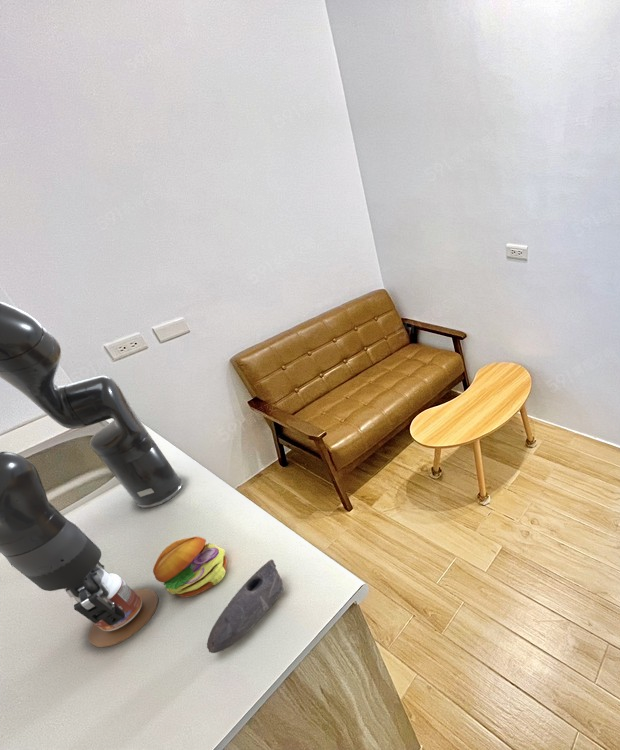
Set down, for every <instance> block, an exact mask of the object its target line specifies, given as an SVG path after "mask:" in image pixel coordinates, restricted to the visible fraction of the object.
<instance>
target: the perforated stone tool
mask: <svg viewBox="0 0 620 750" xmlns="http://www.w3.org/2000/svg"><path fill="white" fill-rule="evenodd" d="M283 584H284V583H283V579H282V577H281V576H280V574H279V571H278V569H277V565H276V563H275V561H274V559H270V560H268V561H267V562H266V563H264V564H263V565H262V566H261V567H260V568H259V569H258V570H257V571H256V572H255V573H253V575H251V576H250V578H248V580H247V581H246V582H245V583H244V584H243V585H242V586H241V588H240V589H238V590H237V592H236V593H235V595H234V596H233V597H232V598H231V599H230V601H229V603H227V606H226V607H224V609H223V611H222V612H221V613H220V615H219V616H218V618H217V620H215V623H214V625H213V626H212V628H211V630H210V632H209V635H208V638H207V643H206V649H207V650H208V652H209V653H211V654H217V653H221V652H223V651H224V650H227V649H228V648H230V647H231V646H233V645H234V644H235V643H237V642H238V641H239V640H240V639H241V638H243V637H244V636H245V635H246V634H247V633H248V632H249V631H250V630H251V629H252V628H253V627H254V625H256V624H257V622H258V621H260V619H261V618H262V617H263V616H264V615H265V614H266V613H267V611H268V610H269V609H271V607H272V606H273V605H274V604H275V602H276V601H277V599H278V598H279V597H280V595H281V594H282V593H283V591H284V587H283Z"/></svg>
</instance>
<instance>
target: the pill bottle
mask: <svg viewBox="0 0 620 750" xmlns="http://www.w3.org/2000/svg"><path fill="white" fill-rule="evenodd" d="M97 571H98V572H99V573H100V574H101V576H102V581H103V582H104V583H105V585H106V586H107V587H108V589H109V590H110V593H109V595H108V596H109V597H110V598H111V600H112V601H113V602H114V603H115V604H116V605H117V606H118V607H119V608H120V609H121V610H122V611H123V612H124V613H125V617H124V618H123V619H122V620H120V621H119V622H117V623H115V624H114V625H111V626H110V625H108V624H107V623H106V622H104V621H103V620H101V621H99V622H97V623H96V624H95V623H94V622H92V624H93V623H94V624H95V625H96V626H98V627H99V628H100V629H101V630H104V631H112V630H116V629H118V628H120V627H122V626H124V625H126V624H127V623H128V622H130V621H131V620H132V619H133V618H134V617H135V616H136V615H137V614H138V612H139V611H140V609H141V606H142V600H141V598H140V597H139V596H138V595H137V594H136V593H135V592H134V591H135V590H133V588H131V587H130V586H129V585H128V583H127V582H125V580H124V579H123V578H122V577H121V576H120V575H118V574H116V573H110V572H109V573H108V572H107V571H106V570H105V569H104V570H103V569H101V568H100V569H99V570H97ZM95 572H96V571H95ZM95 572H94V573H95ZM100 593H102V590H101V589H100V590H99V591H98V592H97V593H95V594H98V595H99V594H100ZM72 601H73V606H74V605H75V604H77V601H76V600H75V599H74V598H73V600H72Z"/></svg>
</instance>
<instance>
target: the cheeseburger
mask: <svg viewBox="0 0 620 750" xmlns="http://www.w3.org/2000/svg"><path fill="white" fill-rule="evenodd" d="M227 563H228V560H227V558H226V550H225V549H224V548H222V547H219V546H218V545H216V544H214V543H210V542H208V543H207V539H205V538H203V537H200V536H191V537H186V538H181V539H177V540H176V541H173V542H172V543H170V544H169V545H167V546H166V547H165V548H164V549H163V550H162V551H161V552H160V554H159V555H158V558H157V559H156V561H155V563H154V565H153V569H152V574H153V576H154V578H155V579H156V581H157V582H159V583H163V585H164V586H165V589H166V590H167V592H168V593H169V594H172V595H176V596H178V597H182V598H187V597H188V598H189V597H193V596H195V595H198V594H200V593H203V592H204V591H206V590H208V589H209V588H211V587H213V586H216V585H217V584H219V583H220V582H221V581H222V580H223V579H224V578H225V576H226V570H227Z"/></svg>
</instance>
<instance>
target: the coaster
mask: <svg viewBox="0 0 620 750" xmlns="http://www.w3.org/2000/svg"><path fill="white" fill-rule="evenodd" d="M133 591H134V592H135V593H136V594H137V595H138V596H139V597H140V598H141V600H142V606H141V609H140V611H139V612H138V614H137V615H136V616H135V617H134V618H133V619H132V620H131V621H130V622H128V623H127V624H126V625H124V626H122V627H120V628H118V629H116V630H112V631H104V630H101V629H100V628H99V627H98V626H96V625H95V624H94V623H93V622H92V625H91V626H90V629H89V632H88V640H89V643H90V644H91V645H93V646H94V647H96V648H109V647H113V646H116V645H118V644H121V643H122V642H125V641H126V640H128V639H130V638H131V637H132V636H134V635H135V634H137V633H138V632H139V631H140V630H142V628H144V627H145V626H146V624H148V622H149V621H150V620H151V619H152V617H153V616H154V614H155V612H156V610H157V609H158V605H159V595H158V594H157V592H156V591H154V590H152V589H150V588H149V589H148V588H142V589H137V590H133Z"/></svg>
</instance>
